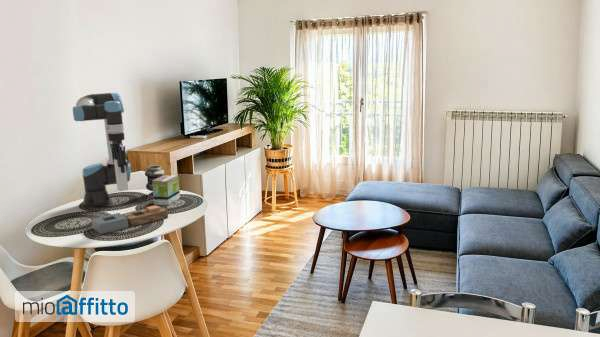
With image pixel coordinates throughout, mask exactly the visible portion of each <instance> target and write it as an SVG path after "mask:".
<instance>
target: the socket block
mask: <svg viewBox="0 0 600 337" xmlns="http://www.w3.org/2000/svg"><path fill="white" fill-rule="evenodd" d="M157 206H158V207H159V211H155V212H151V213H150V212H148V211H147V209H146V208H143V209H138V210H133V211H130V212H125V213H122V215H123V216H125V217H127V219H128V226H129V227H135V226H140V225H143V224H148V223H151V222H155V221H156V222H157V221H160V220H164V219H167V218H169V212H168V211H169V210H168V209H165V208H164V207H161V205H157Z"/></svg>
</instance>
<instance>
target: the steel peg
mask: <svg viewBox="0 0 600 337" xmlns="http://www.w3.org/2000/svg"><path fill="white" fill-rule="evenodd" d="M114 165H115V173H116V181H117V184H116V186H117V188H116V189H117V191H119V192H124V191H128V190H129V185H128V184H129V182H127V174H126V179H120V172H119V167H118V166H119V161H118V159H114ZM125 173H126V166H125Z"/></svg>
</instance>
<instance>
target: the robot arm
mask: <svg viewBox="0 0 600 337" xmlns="http://www.w3.org/2000/svg"><path fill="white" fill-rule="evenodd" d="M124 112H125V109H124V104H123V102H122V97H121V95H120V94H119V93H118V92H105V93H91V94H87V95H84V96H82V97H80V98H79V99H78V100H77V101H76V103H75V106H73V107H72V116H73V121H75V122H85V121H86V122H87V121H99V120H103V122H104V130H105V137H106V138H105V139H106V145H107V146H106V147H107V153H108V160H107V162H106V165H104V164H103V163H101V162H100V163H94V164H90V165H87V166H85V167H84V168H83V169H82V178H83V184H84V196H83V200H82V201H83V206H84V207H89V208H91V207H92V208H94V207H101V206H106V205H108V204H110V203H111V202H112V201H111V200H112V199H111V197H110V194H109V192H108V191H107V186H110V185H117V181H116V173H115V165H114V159H118V161H119V166H118V167H119V172H120V179H126V174H127V183H129V182H130V180H131V172H132V171H131V169H132V168H131V163H130V162H128V159H127V157H126V146H124V143H123V141H125V139H126V138H125V133H124V131H125V129H124V128H125V126H124V121H123V113H124ZM125 166H126V173H125Z"/></svg>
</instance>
